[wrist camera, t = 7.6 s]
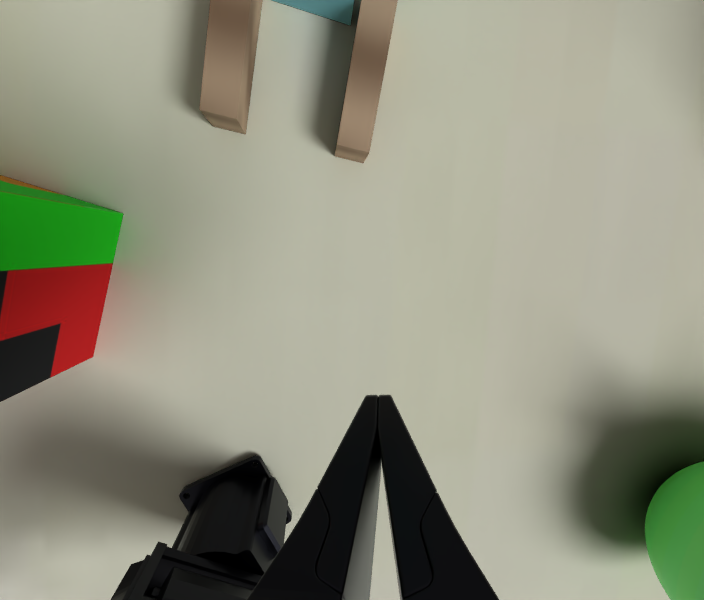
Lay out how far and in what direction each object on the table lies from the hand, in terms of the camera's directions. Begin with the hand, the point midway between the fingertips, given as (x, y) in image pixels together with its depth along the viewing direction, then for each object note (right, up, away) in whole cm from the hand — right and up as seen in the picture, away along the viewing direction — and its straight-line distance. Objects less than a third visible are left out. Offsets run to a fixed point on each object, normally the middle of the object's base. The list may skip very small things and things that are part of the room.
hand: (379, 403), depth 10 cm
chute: (-4, +18, +8) cm, 20 cm away
